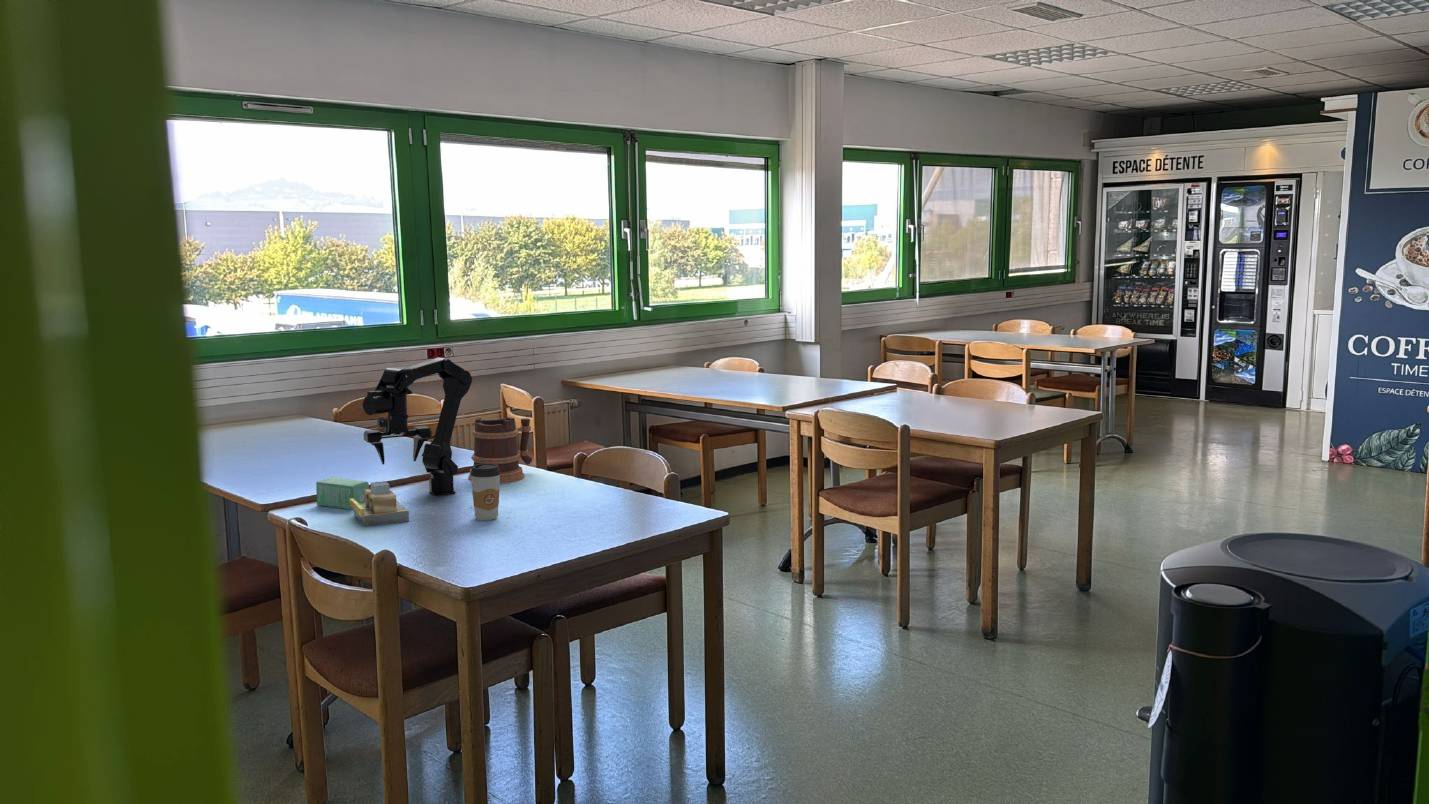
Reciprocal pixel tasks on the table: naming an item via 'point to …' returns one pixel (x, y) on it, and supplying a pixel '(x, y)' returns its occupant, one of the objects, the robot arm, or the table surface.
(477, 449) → the mug
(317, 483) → the box
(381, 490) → the grey blue block
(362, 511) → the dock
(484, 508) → the coffee cup
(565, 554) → the table surface
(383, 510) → the tan stepped block
